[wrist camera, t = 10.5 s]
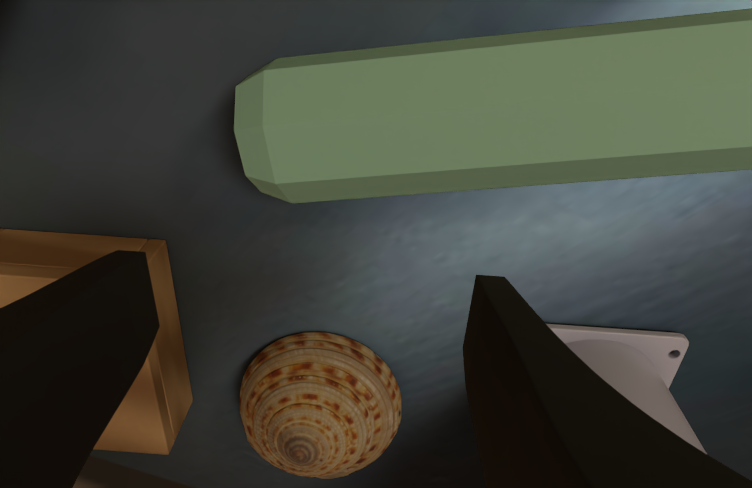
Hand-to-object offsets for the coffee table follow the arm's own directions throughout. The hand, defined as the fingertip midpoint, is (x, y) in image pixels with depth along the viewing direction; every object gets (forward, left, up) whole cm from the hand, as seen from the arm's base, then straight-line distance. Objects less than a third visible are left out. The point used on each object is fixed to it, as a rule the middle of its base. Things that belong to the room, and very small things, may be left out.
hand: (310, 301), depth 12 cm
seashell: (-14, +1, -11) cm, 18 cm away
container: (+3, -9, -11) cm, 14 cm away
